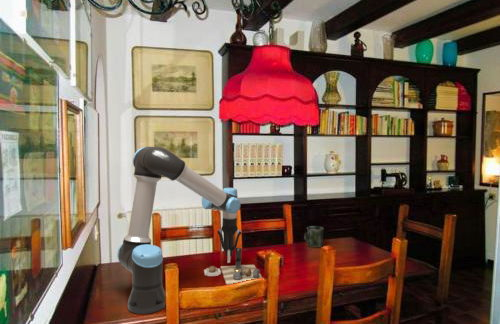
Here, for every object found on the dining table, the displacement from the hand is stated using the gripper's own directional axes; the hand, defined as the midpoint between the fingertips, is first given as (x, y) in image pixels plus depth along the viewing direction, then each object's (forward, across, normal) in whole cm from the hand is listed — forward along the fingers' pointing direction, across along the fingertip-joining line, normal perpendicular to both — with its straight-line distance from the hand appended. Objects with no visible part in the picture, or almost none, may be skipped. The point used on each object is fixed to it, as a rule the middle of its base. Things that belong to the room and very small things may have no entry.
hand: (229, 261), depth 183 cm
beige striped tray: (+4, -7, +9) cm, 12 cm away
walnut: (+1, -12, +12) cm, 17 cm away
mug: (+5, -50, -48) cm, 70 cm away
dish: (+4, +7, +8) cm, 12 cm away
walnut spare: (+3, +7, +8) cm, 12 cm away
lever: (+2, -6, +8) cm, 11 cm away
